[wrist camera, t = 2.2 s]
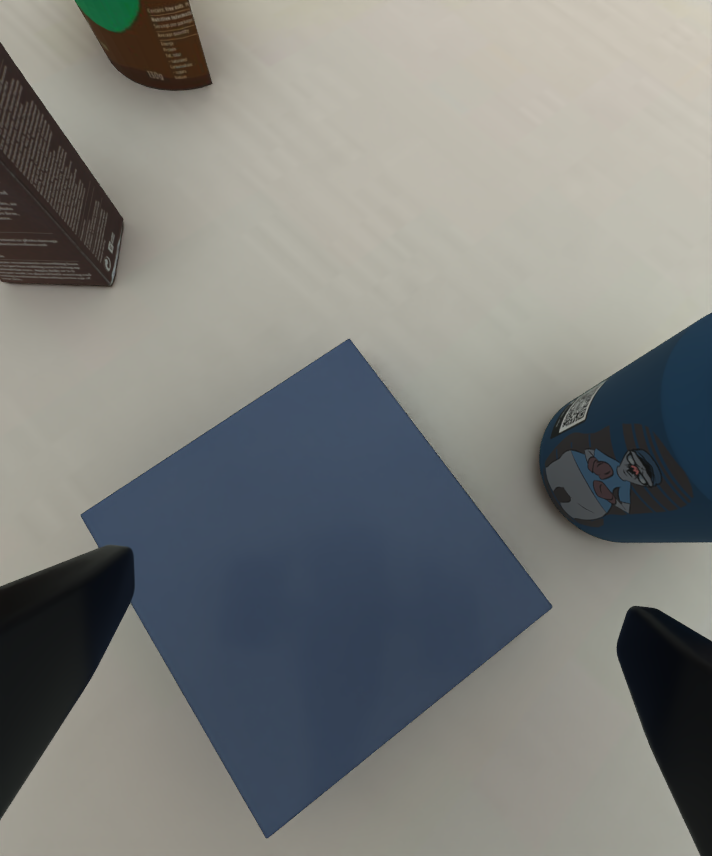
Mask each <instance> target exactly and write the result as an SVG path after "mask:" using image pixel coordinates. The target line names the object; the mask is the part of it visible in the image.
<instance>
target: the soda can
mask: <svg viewBox="0 0 712 856" xmlns="http://www.w3.org/2000/svg"><path fill="white" fill-rule="evenodd" d="M539 463H540V471H541V476H542V480H543V483H544V486H545V488H546V491H547V493H548V495H549V497H550V498H551V500H552V502H553V503H554V505H555V506H556V507H557V509H558V510H559V511H560V512H561V513H562V514H563V516H564V517H566V518H567V519H568V520H569V521H570V522H571V523H572V524H574V525H575V526H576V527H578V528H579V529H581V530H583V531H584V532H586V533H588V534H590V535H592V536H595V537H597V538H600V539H603V540H607V541H612V542H621V543H671V542H712V313H710V314H708V315H706V316H705V317H703V318H701V319H700V320H698V321H697V322H695V323H694V324H692V325H690V326H689V327H687V328H686V329H684V330H683V331H681V332H679V333H678V334H676V335H675V336H673V337H672V338H670V339H668V340H667V341H665V342H664V343H662V344H661V345H659V346H657V347H656V348H654V349H653V350H651V351H649V352H648V353H646V354H645V355H643V356H642V357H640V358H638V359H637V360H635V361H634V362H632V363H631V364H629V365H627V366H626V367H624V368H623V369H621V370H620V371H618V372H616V373H615V374H613V375H612V376H610V377H609V378H607V379H605V380H604V381H602V382H601V383H599V384H598V385H596V386H594V387H593V388H591V389H590V390H588V391H586V392H585V393H583V394H582V395H580V396H579V397H577V398H575V399H574V400H572V401H571V402H569V403H568V404H566V405H565V406H564V407H562V408H561V409H560V410H559V411H558V412H557V413H556V414H555V416H554V417H553V418H552V419H551V421H550V422H549V424H548V426H547V428H546V430H545V432H544V435H543V438H542V441H541V446H540V454H539Z"/></svg>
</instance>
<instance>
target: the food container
mask: <svg viewBox="0 0 712 856" xmlns="http://www.w3.org/2000/svg"><path fill="white" fill-rule="evenodd" d="M75 2H76V3H77V5H78V7H79V8H80V10H81V12H82V14H83V15H84V17H85V19H86V20H87V22H88V24H89V26H90V27H91V29H92V31H93V32H94V34H95V36H96V38H97V39H98V41H99V43H100V44H101V46H102V48H103V49H104V51H105V53H106V55H107V56H108V58H109V60H110V61H111V63H112V64H113V65H114V66H115V67H116V69H117V70H118V71H120V72H121V73H122V74H123V75H125V76H126V77H128V78H129V79H131V80H133V81H135V82H137V83H139V84H142V85H145V86H148V87H152V88H157V89H164V90H187V89H193V88H199V87H202V86H205V85H209V84H212V81H211V77H210V74H209V70H208V67H207V63H206V60H205V57H204V53H203V50H202V46H201V43H200V39H199V36H198V32H197V29H196V25H195V22H194V18H193V15H192V11H191V8H190V4H189V1H188V0H75Z"/></svg>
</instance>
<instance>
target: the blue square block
mask: <svg viewBox="0 0 712 856" xmlns="http://www.w3.org/2000/svg"><path fill="white" fill-rule="evenodd" d="M81 517H82V519H83V521H84V522H85V524H86V526H87V528H88V529H89V531H90V533H91V535H92V536H93V538H94V540H95V542H96V543H97V545H98V547H99V548H100V547H103V546H105V545H119V546H127V547H130V548H131V549H132V551H133V554H134V572H135V591H134V595H133V598H132V600H131V604H132V606H133V608H134V609H135V611H136V613H137V615H138V616H139V618H140V620H141V622H142V623H143V625H144V627H145V628H146V630H147V632H148V634H149V635H150V637H151V639H152V641H153V642H154V644H155V646H156V648H157V649H158V651H159V653H160V655H161V656H162V658H163V660H164V662H165V663H166V665H167V667H168V668H169V670H170V672H171V674H172V675H173V677H174V679H175V681H176V682H177V684H178V686H179V688H180V689H181V691H182V693H183V695H184V696H185V698H186V700H187V701H188V703H189V705H190V707H191V708H192V710H193V712H194V714H195V715H196V717H197V719H198V721H199V722H200V724H201V726H202V728H203V729H204V731H205V733H206V735H207V736H208V738H209V740H210V741H211V743H212V745H213V747H214V748H215V750H216V752H217V754H218V755H219V757H220V759H221V761H222V762H223V764H224V766H225V768H226V769H227V771H228V773H229V775H230V776H231V778H232V780H233V781H234V783H235V785H236V787H237V788H238V790H239V792H240V794H241V795H242V797H243V799H244V801H245V802H246V804H247V806H248V808H249V809H250V811H251V813H252V814H253V816H254V818H255V820H256V821H257V823H258V825H259V827H260V828H261V830H262V832H263V834H264V835H265V837H266V838H269V837H270V836H271V835H272V834H274V833H275V832H276V831H277V830H279V829H280V828H281V827H282V826H284V825H285V824H286V823H287V822H288V821H290V820H291V819H292V818H293V817H295V816H296V815H297V814H298V813H300V812H301V811H302V810H303V809H304V808H306V807H307V806H308V805H309V804H311V803H312V802H313V801H314V800H316V799H317V798H318V797H319V796H321V795H322V794H323V793H324V792H325V791H327V790H328V789H329V788H330V787H332V786H333V785H334V784H335V783H337V782H338V781H339V780H340V779H342V778H343V777H344V776H345V775H346V774H348V773H349V772H350V771H351V770H353V769H354V768H355V767H356V766H358V765H359V764H360V763H361V762H362V761H364V760H365V759H366V758H367V757H369V756H370V755H371V754H372V753H374V752H375V751H376V750H377V749H379V748H380V747H381V746H382V745H383V744H385V743H386V742H387V741H388V740H390V739H391V738H392V737H393V736H395V735H396V734H397V733H398V732H399V731H401V730H402V729H403V728H404V727H406V726H407V725H408V724H409V723H411V722H412V721H413V720H414V719H416V718H417V717H418V716H419V715H420V714H422V713H423V712H424V711H425V710H427V709H428V708H429V707H430V706H432V705H433V704H434V703H435V702H437V701H438V700H439V699H440V698H441V697H443V696H444V695H445V694H446V693H448V692H449V691H450V690H451V689H453V688H454V687H455V686H456V685H457V684H459V683H460V682H461V681H462V680H464V679H465V678H466V677H467V676H469V675H470V674H471V673H472V672H474V671H475V670H476V669H477V668H478V667H480V666H481V665H482V664H483V663H485V662H486V661H487V660H488V659H490V658H491V657H492V656H493V655H495V654H496V653H497V652H498V651H499V650H501V649H502V648H503V647H504V646H506V645H507V644H508V643H509V642H511V641H512V640H513V639H514V638H515V637H517V636H518V635H519V634H520V633H522V632H523V631H524V630H525V629H527V628H528V627H529V626H530V625H532V624H533V623H534V622H535V621H536V620H538V619H539V618H540V617H541V616H543V615H544V614H545V613H546V612H548V611H549V610H550V609H551V608H552V605H551V604H550V602H549V601H548V600H547V598H546V597H545V596H544V594H543V593H542V592H541V590H540V589H539V588H538V587H537V585H536V584H535V583H534V581H533V580H532V579H531V577H530V576H529V575H528V573H527V572H526V571H525V569H524V568H523V567H522V565H521V564H520V563H519V561H518V560H517V559H516V558H515V556H514V555H513V554H512V552H511V551H510V550H509V548H508V547H507V546H506V544H505V543H504V542H503V540H502V539H501V538H500V536H499V535H498V534H497V532H496V531H495V530H494V528H493V527H492V526H491V525H490V523H489V522H488V521H487V519H486V518H485V517H484V515H483V514H482V513H481V511H480V510H479V509H478V507H477V506H476V505H475V503H474V502H473V501H472V499H471V498H470V497H469V496H468V494H467V493H466V492H465V490H464V489H463V488H462V486H461V485H460V484H459V482H458V481H457V480H456V478H455V477H454V476H453V474H452V473H451V472H450V470H449V469H448V468H447V466H446V465H445V464H444V463H443V461H442V460H441V459H440V457H439V456H438V455H437V453H436V452H435V451H434V449H433V448H432V447H431V445H430V444H429V443H428V441H427V440H426V439H425V437H424V436H423V435H422V434H421V432H420V431H419V430H418V428H417V427H416V426H415V424H414V423H413V422H412V420H411V419H410V418H409V416H408V415H407V414H406V412H405V411H404V410H403V408H402V407H401V406H400V404H399V403H398V402H397V401H396V399H395V398H394V397H393V395H392V394H391V393H390V391H389V390H388V389H387V387H386V386H385V385H384V383H383V382H382V381H381V379H380V378H379V377H378V375H377V374H376V373H375V371H374V370H373V369H372V368H371V366H370V365H369V364H368V362H367V361H366V360H365V358H364V357H363V356H362V354H361V353H360V352H359V350H358V349H357V348H356V346H355V345H354V344H353V342H352V341H351V340H350V339H348V340H346V341H345V342H343V343H341V344H340V345H338V346H337V347H335V348H334V349H332V350H331V351H329V352H328V353H326V354H325V355H323V356H322V357H320V358H319V359H317V360H316V361H314V362H313V363H311V364H309V365H308V366H306V367H305V368H303V369H302V370H300V371H299V372H297V373H296V374H294V375H293V376H291V377H290V378H288V379H287V380H285V381H284V382H282V383H281V384H279V385H277V386H276V387H274V388H273V389H271V390H270V391H268V392H267V393H265V394H264V395H262V396H261V397H259V398H258V399H256V400H255V401H253V402H252V403H250V404H249V405H247V406H245V407H244V408H242V409H241V410H239V411H238V412H236V413H235V414H233V415H232V416H230V417H229V418H227V419H226V420H224V421H223V422H221V423H220V424H218V425H217V426H215V427H213V428H212V429H210V430H209V431H207V432H206V433H204V434H203V435H201V436H200V437H198V438H197V439H195V440H194V441H192V442H191V443H189V444H188V445H186V446H184V447H183V448H181V449H180V450H178V451H177V452H175V453H174V454H172V455H171V456H169V457H168V458H166V459H165V460H163V461H162V462H160V463H159V464H157V465H156V466H154V467H152V468H151V469H149V470H148V471H146V472H145V473H143V474H142V475H140V476H139V477H137V478H136V479H134V480H133V481H131V482H130V483H128V484H127V485H125V486H124V487H122V488H120V489H119V490H117V491H116V492H114V493H113V494H111V495H110V496H108V497H107V498H105V499H104V500H102V501H101V502H99V503H98V504H96V505H95V506H93V507H92V508H90V509H88V510H87V511H85V512H84V513H82V514H81Z"/></svg>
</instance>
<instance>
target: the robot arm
mask: <svg viewBox="0 0 712 856" xmlns="http://www.w3.org/2000/svg"><path fill="white" fill-rule="evenodd" d="M134 591H135V572H134V554H133V551H132V549H131V548H130V547H127V546H119V545H105V546H103V547H100V548H98V549H95V550H93V551H90V552H88V553H85V554H82V555H80V556H77V557H75V558H72V559H70V560H67V561H65V562H62V563H59V564H57V565H54V566H52V567H49V568H47V569H44V570H41V571H39V572H36V573H34V574H31V575H29V576H26V577H24V578H21V579H18V580H16V581H13V582H11V583H8V584H6V585H3V586H1V587H0V819H1V818H2V816H3V815H4V813H5V812H6V810H7V809H8V807H9V805H10V804H11V802H12V801H13V799H14V798H15V796H16V795H17V793H18V791H19V790H20V788H21V787H22V785H23V784H24V782H25V781H26V779H27V778H28V776H29V774H30V773H31V771H32V770H33V768H34V767H35V765H36V764H37V762H38V760H39V759H40V757H41V756H42V754H43V753H44V751H45V750H46V748H47V746H48V745H49V743H50V742H51V740H52V739H53V737H54V736H55V734H56V733H57V731H58V729H59V728H60V726H61V725H62V723H63V722H64V720H65V719H66V717H67V715H68V714H69V712H70V711H71V709H72V708H73V706H74V705H75V703H76V701H77V700H78V698H79V697H80V695H81V694H82V692H83V691H84V689H85V687H86V686H87V684H88V682H89V681H90V679H91V678H92V676H93V674H94V672H95V670H96V669H97V667H98V665H99V663H100V661H101V659H102V657H103V655H104V653H105V651H106V649H107V647H108V645H109V643H110V641H111V639H112V637H113V636H114V634H115V632H116V630H117V628H118V626H119V624H120V622H121V620H122V618H123V616H124V614H125V612H126V610H127V608H128V606H129V604H130V602H131V600H132V598H133V595H134ZM617 656H618V660H619V662H620V665H621V668H622V671H623V674H624V676H625V679H626V682H627V685H628V688H629V690H630V693H631V696H632V699H633V702H634V704H635V707H636V710H637V713H638V716H639V719H640V721H641V724H642V727H643V730H644V732H645V735H646V737H647V740H648V743H649V745H650V747H651V750H652V752H653V754H654V756H655V759H656V761H657V763H658V765H659V767H660V770H661V772H662V774H663V776H664V778H665V780H666V783H667V785H668V787H669V789H670V791H671V793H672V795H673V798H674V800H675V802H676V804H677V806H678V808H679V811H680V813H681V815H682V817H683V819H684V821H685V823H686V826H687V828H688V830H689V832H690V834H691V836H692V838H693V841H694V843H695V845H696V847H697V849H698V851H699V854H700V856H712V641H710V640H709V639H707V638H705V637H704V636H702V635H700V634H698V633H697V632H695V631H693V630H692V629H690V628H688V627H687V626H685V625H683V624H682V623H680V622H678V621H677V620H675V619H673V618H672V617H670V616H668V615H667V614H665V613H663V612H661V611H660V610H658V609H655V608H649V607H640V606H633V607H631V608H630V609H629V610H628V611H627V614H626V616H625V620H624V623H623V626H622V629H621V632H620V635H619V638H618V642H617Z"/></svg>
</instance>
